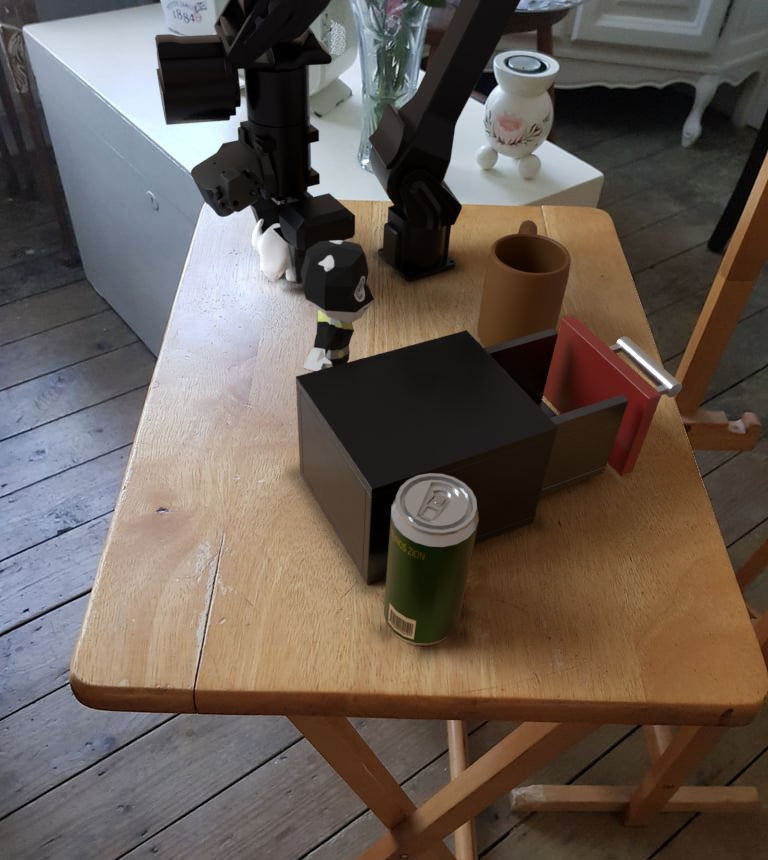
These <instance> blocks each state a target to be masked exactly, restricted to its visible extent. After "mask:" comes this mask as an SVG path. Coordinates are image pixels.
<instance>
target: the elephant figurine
mask: <svg viewBox="0 0 768 860" xmlns="http://www.w3.org/2000/svg"><path fill="white" fill-rule="evenodd" d="M263 222H264V220H263V219H261V220H259V221H258V223H257V222H256V225H255V227H254V229H253V231H252V235H251V245H252V248H253V249H254V251H255V252H256V253H257V254H258V255H259V260H260V263H259V269H260V276H262V275H263V273H264V275H265V276H266V278H267V280H268V281H269V282H271V283H273V284H274V283H277V282H278V281H279V279H280V278H281V277H282V276H283V274H284V273H285V278H286V280H287V281H288V282H295V279H294V275H293V271H292V266H291V260H290V255H289V249H288V244H287V243H286V242H285V241H284V240H283V239H282V238H281V237H280V236H279V235H278V234H277V233H276V232H275V231H274V230H273V229H274V228H278V227H280V224H279V223H276V224H273V225H272V226H271V227H269V228H268V229H267V230H266V231H265V232H264V233H263V234H262V233H261V227H262V225H263Z"/></svg>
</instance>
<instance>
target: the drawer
mask: <svg viewBox="0 0 768 860" xmlns="http://www.w3.org/2000/svg"><path fill="white" fill-rule="evenodd" d="M483 348H484V349H485V350H486V351H487V352H488V353H489V354H490V355H491V356H492V357H493V359H494V360H495V361H496V362H497V363H498V364H499V365H500V366H501V367H502V368H503V369H504V370H505V371H506V372H507V373H508V374H509V376H510V377H511V378H512V379H513V380H514V381H515V382H516V383H517V384H518V385H519V386H520V387H521V388H522V389H523V390H524V391H525V392H526V394H527V395H528V396H529V397H530V398H531V399H532V400H533V401H534V402H535V403H536V404H537V405H538V406H539V407H540V408H541V409H542V411H543V412H544V413H545V414H546V415H547V416H548V417H549V418H550V419H551V420H552V421H553V422H554V423H555V424H556V425H557V426H558V431H557V434H556V438H555V442H554V446H553V449H552V453H551V457H550V460H549V464H548V468H547V472H546V475H545V479H544V483H543V486H542V490H541V494H540V497H542V496H545V495H547V494H551V493H554V492H555V491H558V490H562V489H565V488H567V487H570V486H572V485H575V484H578V483H581V482H583V481H587V480H589V479H591V478H594V477H597V476H599V475H603V474H604V473H605V470H606V467H607V466H608V465H609V466H610V467H611V468H612V469H613V470H614V471H615V472H616V473H617V474H618V475H619V476H620V477H624V476H626V475H629V474H631V473H633V471H634V469H635V466H636V464H637V461H638V458H639V456H640V453H641V450H642V448H643V445H644V442H645V440H646V437H647V435H648V432H649V429H650V427H651V424H652V422H653V418H654V417H655V414H656V411H657V408H658V406H659V403H660V400H661V398H662V396H664V395H665V396H667V398H673V397H675V396H677V395H678V394H679V393H680V392H681V390H682V388H683V384H682V383H681V382H680V381H679V380H678V379H676V378H675V377H674V376H673V375H672V374H671V373H669V372H668V370H666V369H665V368H664V367H662V365H660V364H659V363H658V362H657V361H656V360H655V359H653V357H651V356H650V355H649V354H648V353H647V352H646V351H644V350H643V349H642V348H641V347H640V346H639V345H638V344H636V342H634V341H633V340H632V339H630V337H628V336H627V335H624V336H621V337H620V338H618V340H617V341H616V342H615V343H614V344H612V345H607V344H606V343H605V342H604V341H602V339H600V337H598V336H597V335H596V334H595V333H594V332H593V331H592V330H590V329H589V327H587V326H586V325H585V324H584V322H583V323H582V321H580V319H578V317H576V316H575V315H574V314H572V315H567V316H564V317H562V318H561V320H560V323H559V328H558V332H557V330H556V331H555V330H554V329H549V330H545V331H542V332H538V333H535V334H531V335H527V336H524V337H520V338H517V339H513V340H510V341H506V342H503V343H499V344H496V345H492V346H488V347H485V346H484V347H483ZM618 354H620V355H621V356H622V357H623V358H624V359H626V361H628V362H629V363H630V364H631V365H632V366H633V367H635V369H636V370H638V371H639V372H640V373H641V374H642V375H643V376H645V378H646V379H648V380H649V381H650V382H651V383H652V384H653V385H654V386H653V385H651V383H649V382H648V381H647V380H646V379H645V378H643V377H642V375H640V373H638V372H637V371H636V370H635V369H634V368H632V366H630V365H629V364H628V363H627V362H626V361H625V360H623V358H622V357H621V356H620V355H618ZM543 398H545V399H546V400H547V401H548V402H549V403H550V404H551V405H552V406H553V407H554V408H555V410H557V412H558V413H559V414H556V413H555V412H554V411H553V410H552V409H551V407H550V406H549V405H548V404H547V403H546V402H545V401H544V400H543Z"/></svg>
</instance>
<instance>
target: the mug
mask: <svg viewBox="0 0 768 860" xmlns="http://www.w3.org/2000/svg"><path fill="white" fill-rule="evenodd" d="M571 263H572V257H571V254H570V252H569V250H568V249H567V247H565V245H563V244H562V243H561V242H559V241H557V240H555V239H553V238H551V237H548V236H544V235H540V234H538V225H537V224H536V222H534V221H533V220H530V219H528V220H524V221H522V222H521V223H520V225H519V228H518V233H513V234H512V233H511V234H507V235H504V236H502V237H500V238H497V240H495V241H494V242H493V243H492V245H491V247H490V250H489V255H488V259H487V262H486V268H485V274H484V280H483V287H482V292H481V293H482V294H481V300H480V308H479V314H478V321H477V335H478V338H479V341H480V342H481V343H482V345H483V346H484V348H485V347H488V346H492V345H496V344H499V343H503V342H506V341H510V340H513V339H517V338H520V337H524V336H527V335H531V334H535V333H538V332H542V331H545V330H549V329H554V330H555V331H556V332H557V327H558V322H559V319H560V315H561V311H562V307H563V303H564V299H565V295H566V290H567V286H568V281H569V276H570V269H571Z"/></svg>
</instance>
